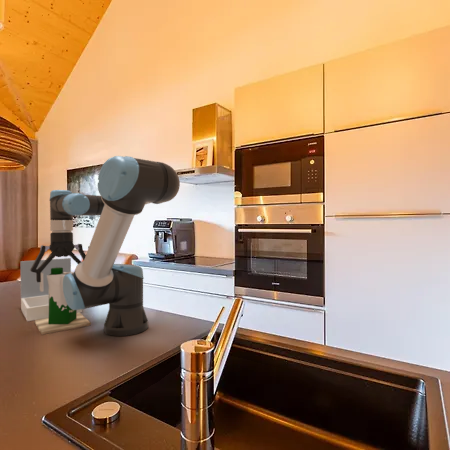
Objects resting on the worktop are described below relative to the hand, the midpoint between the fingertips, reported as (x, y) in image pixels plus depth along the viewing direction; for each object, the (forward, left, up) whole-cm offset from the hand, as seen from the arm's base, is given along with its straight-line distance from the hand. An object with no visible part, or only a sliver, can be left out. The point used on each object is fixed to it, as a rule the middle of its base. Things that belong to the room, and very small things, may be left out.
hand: (62, 288), depth 119 cm
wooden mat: (0, 0, -13) cm, 13 cm away
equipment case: (+26, 0, -13) cm, 29 cm away
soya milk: (0, 0, -13) cm, 13 cm away
